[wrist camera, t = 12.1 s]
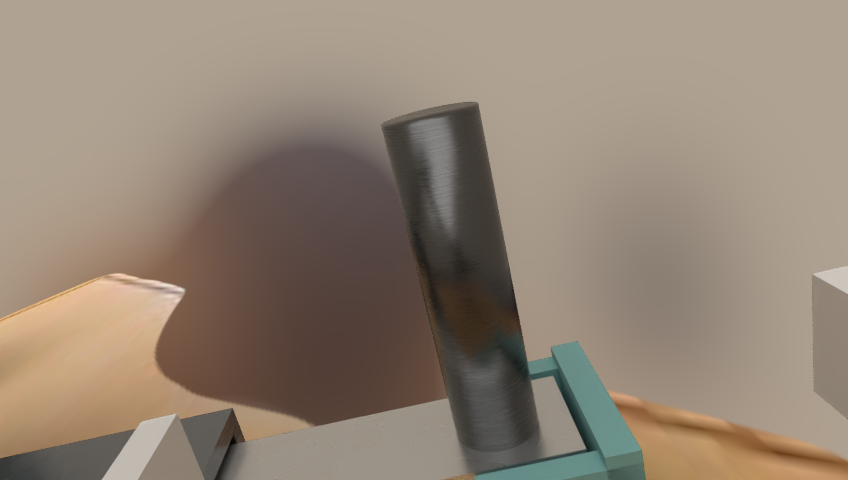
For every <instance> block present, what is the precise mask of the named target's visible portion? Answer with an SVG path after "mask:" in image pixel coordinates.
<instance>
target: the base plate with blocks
mask: <svg viewBox="0 0 848 480" xmlns="http://www.w3.org/2000/svg"><path fill="white" fill-rule="evenodd" d="M180 422H181V424H182V427H183V429H184V431H185V434H186V436H187V438H188V441H189V443H190V446H191V448H192V450H193V453H194V455H195V458H196V460H197V462H198V465H199V467H200V469H201V472H202V474H203V477H204V479H205V480H214V479H215V477H216V475H217V472H218V470H219V467H220V465H221V463H222V460H223V458H224V456H225V453H226V451H227V449H228V446H229V445H233V444H237V443H242V442H245V439H244V437H243V434H242V431H241V429H240V426H239V423H238V421H237V418H236V416H235V413H234V410H233V408H231V409H226V410H221V411H217V412H212V413H208V414H203V415H198V416H194V417H189V418H185V419H180ZM135 430H136V429H134V430H129V431H125V432H120V433H115V434H111V435H106V436H102V437H97V438H92V439H88V440H83V441H79V442H74V443H69V444H65V445H60V446H55V447H51V448H46V449H42V450H37V451H32V452H28V453H23V454H19V455H14V456H9V457H5V458H0V480H102V479H103V477H104V476H105V474H106V473H107V471H108V470H109V468H110V467H111V465H112V464H113V462H114V461H115V459H116V458H117V456H118V455H119V453H120V452H121V451H122V449H123V448H124V446H125V445H126V443H127V442H128V440H129V439H130V437H131V436H132V434H133V433H134V431H135Z"/></svg>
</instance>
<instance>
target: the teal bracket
mask: <svg viewBox="0 0 848 480" xmlns="http://www.w3.org/2000/svg"><path fill="white" fill-rule="evenodd" d="M551 352H552V357H549V358H544V359H540V360H535V361H530V362H528V367H529V373H530V378H531V380H535V379H540V378H544V377H549V376H553V377H554V379H555V381H556V383H557V386H558V388H559V390H560V392H561V394H562V397H563V399H564V401H565V403H566V405H567V408H568V410H569V412H570V414H571V416H572V419H573V421H574V423H575V425H576V427H577V429H578V432H579V434H580V436H581V438H582V440H583V443H584V445H585V447H586V450H587V453H583V454H578V455H573V456H568V457H564V458H559V459H554V460H549V461H545V462H540V463H535V464H530V465H525V466H521V467H516V468H511V469H506V470H502V471H497V472H492V473H487V474H483V475H478V476H474V477H475V480H646V479H645V471H644V463H643V455H642V450H641V448H640V446H639V445H638V443H637V441H636V439H635V438H634V436H633V434H632V433H631V431H630V429H629V428H628V426H627V424H626V423H625V421H624V419H623V417H622V416H621V414H620V412H619V411H618V409H617V407H616V406H615V404H614V402H613V400H612V399H611V397H610V395H609V394H608V392H607V390H606V389H605V387H604V385H603V384H602V382H601V380H600V378H599V377H598V375H597V373H596V372H595V370H594V368H593V367H592V365H591V363H590V361H589V360H588V358H587V356H586V355H585V353H584V351H583V350H582V348H581V346H580V345H579V343H578V341H576V342H571V343H567V344H562V345H558V346H553V347H551Z"/></svg>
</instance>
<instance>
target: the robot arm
mask: <svg viewBox="0 0 848 480" xmlns="http://www.w3.org/2000/svg"><path fill="white" fill-rule="evenodd" d="M812 311H813V312H812V313H813V368H814V370H813V371H814V391H815V392H816V393H817V394H818V395H819V396H821V397H822V398H823V399H824V400H826V401H827V402H828V403H829V404H830V405H831V406H833V407H834V408H835V409H836V410H837V411H839V412H840V413H841V414H842V415H843V416H844V417H846V418H847V419H848V266H845V267H841V268H836V269H832V270H827V271H823V272H818V273H814V274H812ZM102 480H205V479H204V477H203V474H202V472H201V469H200V467H199V465H198V462H197V460H196V458H195V455H194V453H193V450H192V448H191V446H190V443H189V441H188V438H187V436H186V434H185V431H184V429H183V427H182V424H181V422H180V419H179V417H178V415H177V414H172V415H168V416H163V417H159V418H154V419H149V420H145V421H141V422H140V424H139V425H138V427H137V428H136V430H135V431H134V433H133V434H132V436H131V437H130V439H129V440H128V442H127V443H126V445H125V446H124V448H123V449H122V451H121V452H120V453H119V455H118V456H117V458H116V459H115V461H114V462H113V464H112V465H111V467H110V468H109V470H108V471H107V473H106V474H105V476H104V477H103V479H102Z"/></svg>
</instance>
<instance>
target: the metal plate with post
mask: <svg viewBox="0 0 848 480" xmlns="http://www.w3.org/2000/svg"><path fill="white" fill-rule="evenodd" d="M381 127H382V131H383V135H384V138H385V143H386V147H387V151H388V155H389V159H390V163H391V167H392V171H393V176H394V180H395V184H396V188H397V192H398V196H399V200H400V204H401V208H402V212H403V216H404V221H405V225H406V229H407V233H408V237H409V241H410V245H411V249H412V253H413V257H414V261H415V265H416V270H417V273H418V277H419V282H420V286H421V290H422V294H423V298H424V302H425V306H426V310H427V315H428V319H429V323H430V327H431V331H432V335H433V339H434V342H435V347H436V351H437V355H438V359H439V364H440V367H441V372H442V376H443V380H444V384H445V388H446V392H447V396H448V398H447V399H442V400H438V401H433V402H428V403H424V404H419V405H414V406H410V407H405V408H401V409H396V410H391V411H387V412H382V413H377V414H372V415H368V416H363V417H358V418H354V419H350V420H344V421H340V422H335V423H331V424H326V425H321V426H316V427H312V428H307V429H302V430H298V431H293V432H288V433H284V434H279V435H275V436H270V437H265V438H261V439H256V440H251V441H247V442H242V443H237V444H233V445H229V446H228V449H227V451H226V453H225V456H224V458H223V460H222V463H221V465H220V467H219V470H218V472H217V475H216V477H215V479H214V480H475V477H474V476H478V475H483V474H487V473H492V472H497V471H502V470H506V469H511V468H516V467H521V466H525V465H530V464H535V463H540V462H545V461H549V460H554V459H559V458H564V457H568V456H573V455H578V454H583V453H587V450H586V447H585V445H584V443H583V440H582V438H581V436H580V434H579V432H578V429H577V427H576V425H575V423H574V421H573V419H572V416H571V414H570V412H569V410H568V408H567V405H566V403H565V401H564V399H563V397H562V394H561V392H560V390H559V388H558V386H557V383H556V381H555V379H554V377H553V376H549V377H544V378H540V379H535V380H531V378H530V373H529V367H528V362H527V357H526V352H525V346H524V341H523V336H522V331H521V325H520V320H519V315H518V310H517V304H516V299H515V294H514V289H513V284H512V279H511V273H510V268H509V263H508V257H507V252H506V247H505V242H504V236H503V231H502V226H501V221H500V216H499V210H498V205H497V199H496V195H495V189H494V184H493V179H492V173H491V168H490V163H489V158H488V152H487V147H486V142H485V137H484V132H483V126H482V121H481V117H480V110H479V105H478V103H477V102H462V103H455V104H448V105H443V106H439V107H433V108H428V109H424V110H420V111H417V112H413V113H409V114H406V115H402V116H399V117H396V118H394V119H391V120H389V121H386V122H384V123H383V124H382V125H381Z"/></svg>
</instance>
